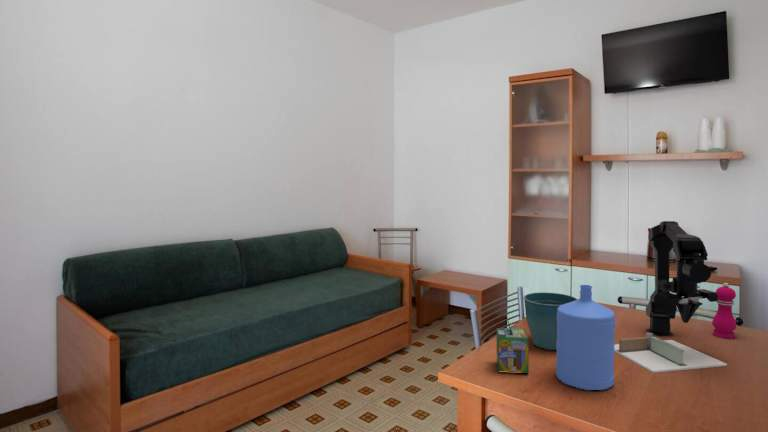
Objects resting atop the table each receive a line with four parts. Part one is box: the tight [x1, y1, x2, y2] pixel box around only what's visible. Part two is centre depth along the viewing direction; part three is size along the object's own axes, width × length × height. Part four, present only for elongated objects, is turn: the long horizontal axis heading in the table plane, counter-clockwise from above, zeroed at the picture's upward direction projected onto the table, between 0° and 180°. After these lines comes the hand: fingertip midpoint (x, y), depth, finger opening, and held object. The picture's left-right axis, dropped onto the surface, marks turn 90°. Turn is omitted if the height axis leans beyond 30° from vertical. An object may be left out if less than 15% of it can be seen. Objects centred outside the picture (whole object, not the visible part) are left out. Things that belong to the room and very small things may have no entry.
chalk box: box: [495, 319, 530, 373], centre depth 142 cm, size 9×9×15 cm
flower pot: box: [523, 291, 578, 351], centre depth 161 cm, size 18×18×17 cm
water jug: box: [555, 284, 616, 391], centre depth 132 cm, size 16×16×28 cm
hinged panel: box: [650, 336, 684, 364], centre depth 147 cm, size 12×2×4 cm, turn 8°
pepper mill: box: [711, 282, 738, 340], centre depth 167 cm, size 7×7×20 cm
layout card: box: [614, 331, 728, 374], centre depth 150 cm, size 22×26×6 cm
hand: (685, 322), depth 148 cm, fingers closed
